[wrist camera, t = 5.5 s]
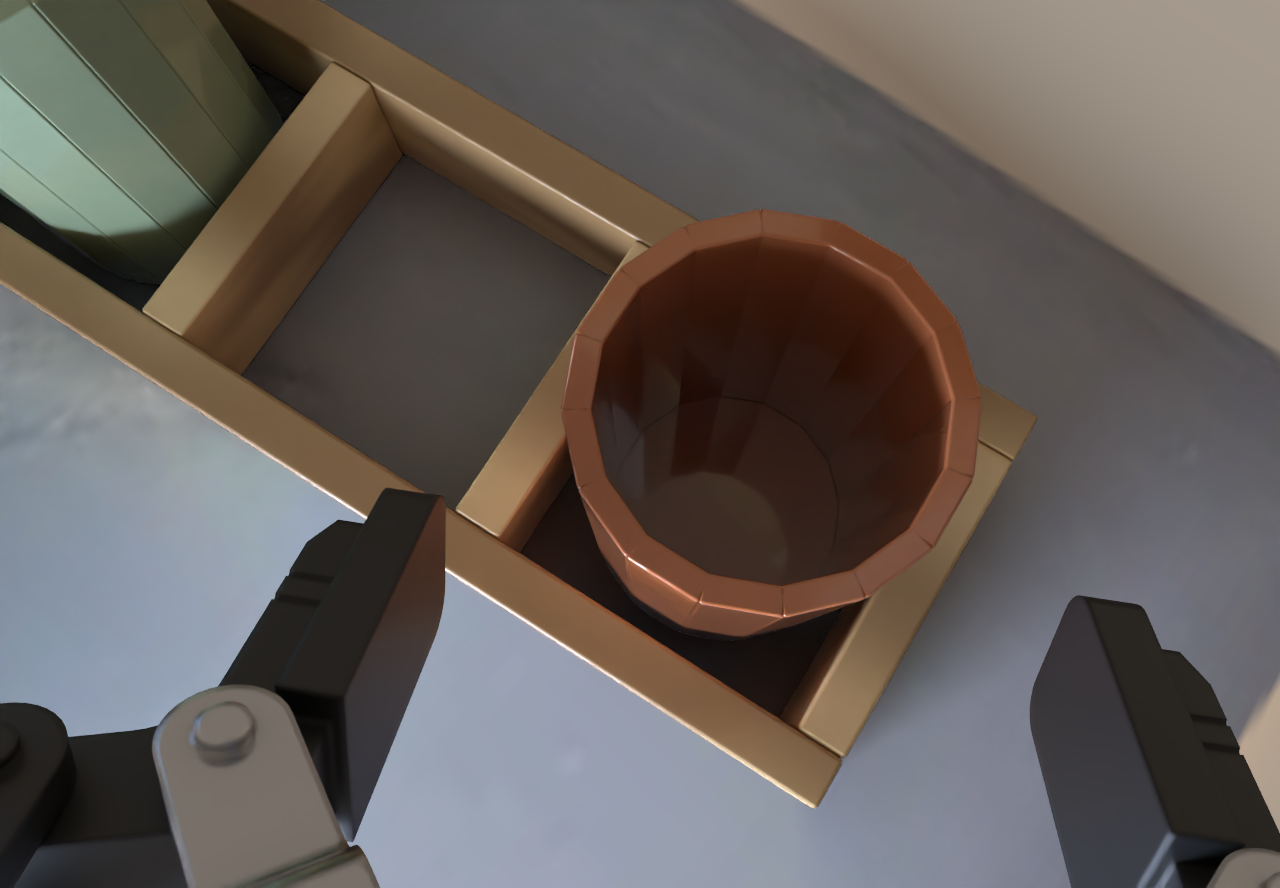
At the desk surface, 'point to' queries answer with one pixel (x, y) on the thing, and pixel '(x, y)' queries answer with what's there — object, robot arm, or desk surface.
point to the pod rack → (536, 441)
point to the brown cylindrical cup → (767, 422)
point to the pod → (125, 124)
